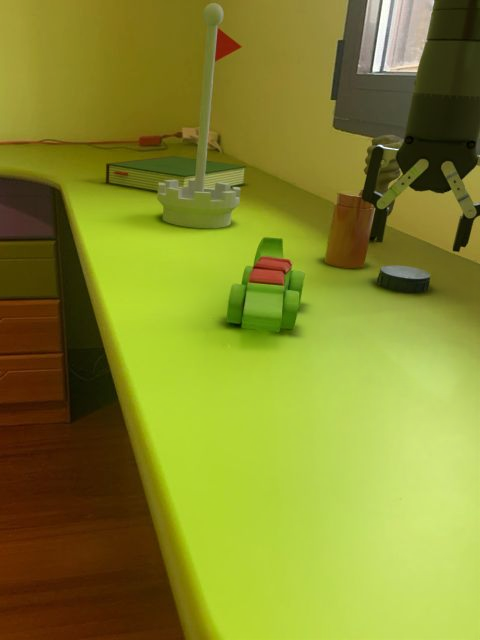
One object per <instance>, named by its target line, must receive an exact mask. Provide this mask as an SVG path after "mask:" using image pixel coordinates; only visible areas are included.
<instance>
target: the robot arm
mask: <svg viewBox="0 0 480 640" xmlns="http://www.w3.org/2000/svg"><path fill="white" fill-rule="evenodd" d="M425 37H426V38H425V42H424V47H423V50H422V54H421V56H420V59H419V63H418V67H417V69H416V75H415V80H414V84H413V91H412V96H411V101H410V106H409V111H408V117H407V121H406V127H405V132H404V137H403V139H404V141H403V144H402V146H401V147H400V148H399V149H393V148H386V147H384V146H383V145H377V146H376V147H375V148H374V149H373V150H372V154H371V158H370V163H369V167H368V171H367V175H366V174H365V175H366V176H365V180H364V184H363V187H362V188H363V189H362V190H363V192H362V200H363V201H365V202H369V203H371V204H372V205H374V207H375V210H376V211H375V216H374V222H373V227H372V236H374V237H376V238H375V243H381V244H382V243H383V240H384V237H385V231H386V226H387V221H388V217H389V216H388V211H389V208H388V205H389V204H390V203H391V202H392V201H393V200H394V199H395V200H396V198H397V197H399V196H400V195H401V194H402V193H403V192H404V191H405V190H406V189H407V188H408V187H409V188H410V189H411V190H414V192H421V193H422V192H429V191H430V192H433V193H436V194H443V195H444V194H445V193H448V192H450V191H452V193H453V195H454V197H455V199H456V201H457V202H458V204H459V206H460V209H461V210H462V215H459V220H458V223H457V228H456V231H455V236H454V241H453V245H452V252H456V253H460V250H461V248H466V246H467V245H468V244H469V241H470V238H471V234H472V229H473V225H474V221H475V220H476V219H477V218H478V217H480V202H476V203H474V201H473V199H472V197H471V195H470V194H469V191H468V189H467V188H466V185H465V183H464V181H463V179H465V178H466V177H467V176H468V175H469V174H470V173H471V172H472V171H473V170H474V169H475V168H476V167H477V166H479V167H480V155H478V152H477V146H478V141H479V137H480V0H433V2H432V7H431V13H430V17H429V22H428V28H427V33H426V36H425ZM394 158H395V159H396V161H397V163H398V165H399V167H400V169H399V170H400V172H401V173H402V175H400V176H399V177H398V178H397V179H396V180H395V181H394V182H393V184H391V185H390V186H389V187H388V190H387V191H386V192H385V193H384V194H383V195H382V194H380V193H378V192H376V191H375V188H376V184H377V180H378V176H379V172H380V168H384V167H386V166H387V165H388V164H389V161H390V160H391V159H394ZM387 216H388V217H387Z"/></svg>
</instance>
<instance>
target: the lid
mask: <svg viewBox="0 0 480 640" xmlns="http://www.w3.org/2000/svg"><path fill="white" fill-rule="evenodd" d="M431 276H432V275H431V274H430V272H428V271H426V270H422V269H420V268H417V267H411V266H406V265H385V266H381V267H380V268H379V272H378V275H377V280H376V283H377V284H378V286H380V287H381V288H384V289H387V290H389V291H394V292H399V293H407V294H419V293H425V292H427V291H429V287H430V286H429V285H430V282H431Z"/></svg>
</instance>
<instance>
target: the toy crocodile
mask: <svg viewBox="0 0 480 640" xmlns="http://www.w3.org/2000/svg"><path fill="white" fill-rule="evenodd" d="M283 241H284V239H283V238H282V237H269V236H264V237H263V238H261V240H260V241H259V243H258V245H257V248H256V252H255V255H254V259H253V265H245V267H244V270H243V273H242V278H241V284H240V283H233V284H231V286H230V292H229V297H228V302H227V303H228V304H227V310H226V322H227V323H230V324H236V325H240V324H241V329H249V330H256V331H257V330H258V331H264V332H265V331H266V332H274V333H275V332H276V333H279V332H280V331H281V329H283V330H294V329H295V327H296V321H297V316H298V310H299V308H300V307H301V300H302V295H303V288H304V282H305V275H306V271H303V270H295V269H294V270H293V262H292V261H291V259H288V258H285V255H284V242H283Z"/></svg>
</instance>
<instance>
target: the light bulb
mask: <svg viewBox="0 0 480 640" xmlns="http://www.w3.org/2000/svg"><path fill="white" fill-rule="evenodd" d="M403 141H404V138H402V137H401V136H398V135H395V134H384V135H380V136H376V137H373V138H372V139H371V145H369V146H368V147H367V148H366V153H367V155H366V157H365V159H364V163H365V165H366V166H365V167H364V168H363V172H364V175H367V171H368V167H369V163H370V158H371V154H372V150H373V149H374V148H375V147H376V146H377V145H383V146H384V147H386V148H393V149H399V148H400V147H401V146H402V144H403ZM401 173H402V171H401V169H400V167H399V165H398V163H397V161H396V159H395V158H394V159H391V160H390V161H389V164H388V165H387V166H386V167H384V168H380V172H379V176H378V180H377V184H376V188H375V191H376V192H378V193H380V194H382V195H383V194H384V193H385V192H386V191H387V190H388V189H389V186H390V183H392V182H393V181H396V180H398V179H399V178H400V177H401ZM360 192H363V189H360ZM395 202H396V198H395V199H394V200H393V201H392V202H391V203H390V204H389V205H388V208H389V211H388V216H387V218H388V217H390V215H391V214H392V212H393V210H394V206H395ZM373 206H374V205H373ZM375 211H376V210H375ZM374 216H375V213H374ZM373 222H374V218H373ZM372 227H373V223H372ZM376 239H377V237H374V236H372V228H371V233H370V238H369V242H374V241H376Z"/></svg>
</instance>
